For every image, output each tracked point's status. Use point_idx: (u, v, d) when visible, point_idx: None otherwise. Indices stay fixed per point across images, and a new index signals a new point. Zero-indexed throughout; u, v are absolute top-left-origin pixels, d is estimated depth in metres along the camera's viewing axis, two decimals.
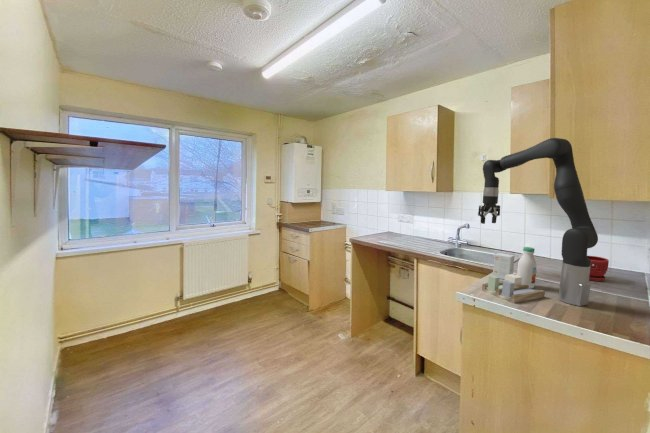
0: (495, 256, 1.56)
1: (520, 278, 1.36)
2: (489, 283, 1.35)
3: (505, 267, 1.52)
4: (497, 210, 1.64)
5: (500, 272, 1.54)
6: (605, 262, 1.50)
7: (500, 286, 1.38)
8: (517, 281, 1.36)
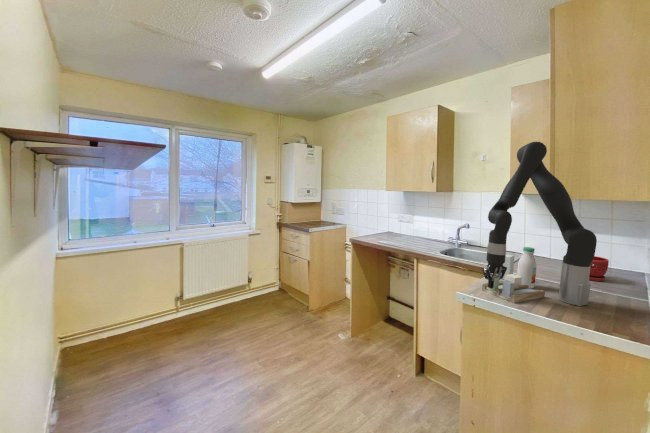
0: None
1: (520, 278, 1.36)
2: None
3: None
4: (502, 271, 1.34)
5: None
6: (605, 262, 1.50)
7: (500, 286, 1.38)
8: (517, 281, 1.36)
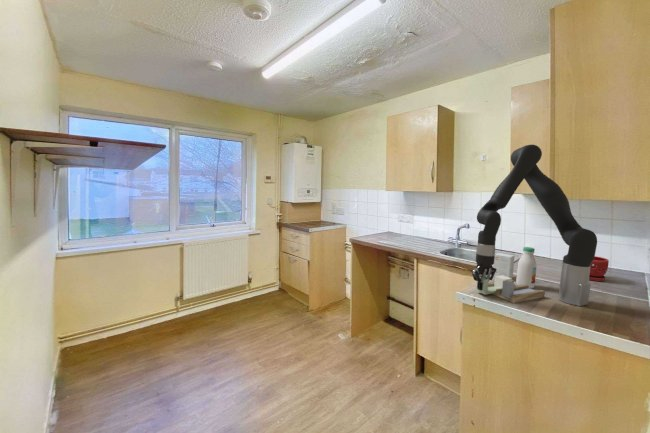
0: (495, 256, 1.56)
1: (510, 279, 1.34)
2: None
3: (505, 267, 1.52)
4: (491, 273, 1.32)
5: (500, 272, 1.54)
6: (605, 262, 1.50)
7: (490, 288, 1.35)
8: None
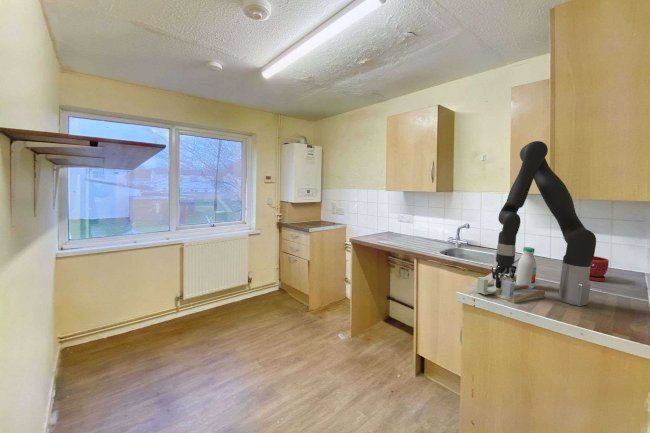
0: (495, 256, 1.56)
1: (510, 280, 1.34)
2: (478, 285, 1.32)
3: None
4: (512, 271, 1.37)
5: None
6: (605, 262, 1.50)
7: (489, 288, 1.35)
8: None
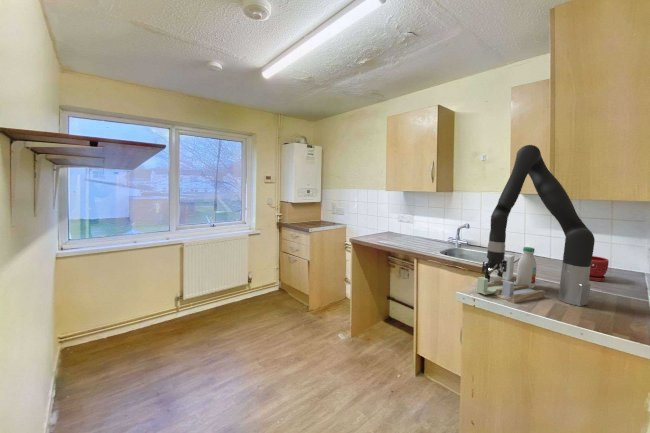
0: None
1: (500, 278, 1.42)
2: (478, 285, 1.32)
3: None
4: (503, 266, 1.45)
5: None
6: (605, 262, 1.50)
7: (489, 288, 1.35)
8: (497, 281, 1.42)
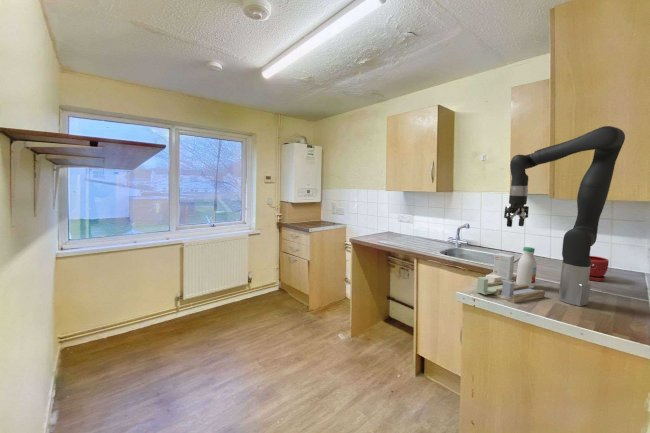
0: (495, 256, 1.56)
1: (500, 278, 1.42)
2: (478, 285, 1.32)
3: (505, 267, 1.52)
4: (525, 211, 1.46)
5: (500, 272, 1.54)
6: (605, 262, 1.50)
7: (489, 288, 1.35)
8: (497, 281, 1.42)
